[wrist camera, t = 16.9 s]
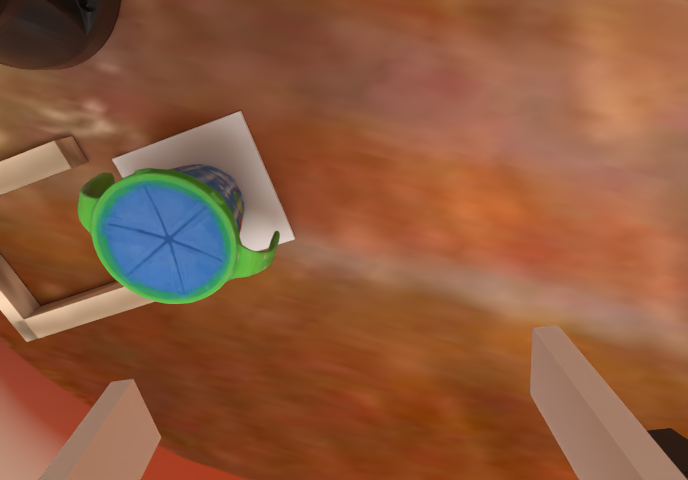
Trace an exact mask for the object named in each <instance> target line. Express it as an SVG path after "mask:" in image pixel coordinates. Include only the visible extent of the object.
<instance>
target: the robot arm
mask: <svg viewBox="0 0 688 480" xmlns="http://www.w3.org/2000/svg"><path fill="white" fill-rule="evenodd" d="M119 3H120V0H0V64H3V65H6V66H10V67H15V68H20V69H30V70H55V69H63V68H68V67H72V66H74V65H77V64H79V63H81V62H83V61H85V60H87V59H88V58H90V57H91V56H92V55H94V54H95V53H96V52H97V51H98V50H99V49H100V48H101V47H102V45H103V44H104V43H105V41H106V40H107V38H108V37H109V35H110V33H111V31H112V29H113V27H114V24H115V21H116V18H117V14H118V10H119ZM530 395H531V397H532V398H533V400H534V402H535V404H536V405H537V407H538V409H539V411H540V412H541V414H542V416H543V418H544V419H545V421H546V423H547V424H548V426H549V428H550V430H551V431H552V433H553V435H554V437H555V438H556V440H557V442H558V444H559V445H560V447H561V449H562V451H563V452H564V454H565V456H566V458H567V459H568V461H569V463H570V465H571V466H572V468H573V470H574V472H575V473H576V475H577V477H578V479H579V480H688V440H687V439H686V438H684V437H683V436H681V435H680V434H679V433H677V432H676V431H674V430H673V429H671V428H668V429H658V430H649V431H646V430H645V429H644V427H643V426H642V425H641V424H640V423H639V421H638V420H637V419H636V418H635V417H634V415H633V414H632V413H631V412H630V411H629V410H628V408H627V407H626V406H625V405H624V404H623V402H622V401H621V400H620V399H619V398H618V396H617V395H616V394H615V393H614V392H613V390H612V389H611V388H610V387H609V386H608V384H607V383H606V382H605V381H604V380H603V378H602V377H601V376H600V375H599V374H598V373H597V371H596V370H595V369H594V368H593V367H592V365H591V364H590V363H589V362H588V361H587V359H586V358H585V357H584V356H583V355H582V353H581V352H580V351H579V350H578V349H577V347H576V346H575V345H574V344H573V343H572V341H571V340H570V339H569V338H568V337H567V335H566V334H565V333H564V332H563V331H562V330H561V328H560V327H559V326H558V325H552V326H544V327H536V328H533V330H532V356H531V383H530ZM160 439H161V436H160V434H159V432H158V430H157V428H156V426H155V424H154V421H153V419H152V417H151V415H150V413H149V411H148V409H147V407H146V405H145V403H144V401H143V399H142V396H141V394H140V392H139V390H138V388H137V386H136V384H135V382H134V380H133V379H130V380H122V381H115V382H111V383H110V385H109V386H108V387H107V389H106V390H105V391H104V393H103V394H102V395H101V397H100V398H99V399H98V401H97V402H96V403H95V405H94V406H93V407H92V409H91V410H90V412H89V413H88V414H87V416H86V417H85V418H84V420H83V421H82V422H81V423H80V425H79V426H78V427H77V429H76V430H75V432H74V433H73V434H72V436H71V437H70V438H69V440H68V441H67V442H66V444H65V445H64V447H63V448H62V449H61V450H60V452H59V453H58V454H57V456H56V457H55V459H54V460H53V461H52V462H51V464H50V465H49V466H48V468H47V469H46V470H45V472H44V473H43V475H42V476H41V477H40V479H39V480H140V479H141V477H142V475H143V473H144V471H145V469H146V467H147V465H148V463H149V461H150V459H151V457H152V455H153V453H154V451H155V449H156V447H157V445H158V443H159V441H160Z"/></svg>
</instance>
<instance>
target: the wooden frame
mask: <svg viewBox="0 0 688 480" xmlns="http://www.w3.org/2000/svg"><path fill="white" fill-rule="evenodd" d="M87 162H88V161H87V159H86V158H85V156H84V154H83V153H82V151H81V149H80V148H79V146H78V144H77V143H76V141H75V139H74V138H73V136H71V137H67V138H63V139H59V140H55V141H52V142H49V143H47V144H44V145H42V146H39V147H37V148H34V149H32V150H29V151H26V152H24V153H21V154H19V155H16V156H14V157H11V158H9V159H6V160H3V161H1V162H0V195H2V194H5V193H7V192H10V191H13V190H15V189H18V188H20V187H23V186H26V185H28V184H31V183H34V182H36V181H39V180H42V179H44V178H47V177H50V176H52V175H55V174H58V173H60V172H63V171H65V170H68V169H71V168H73V167H76V166H79V165H81V164H84V163H87ZM151 302H155V301H153V300H149V299H147V298H144V297H142V296H139V295H137V294H136V293H134V292H132V291H130V290H129V289H127V288H126V287H124V286H123V285H122V284H120V283H119V282H118V281H116V282H113V283H110V284H107V285H104V286H101V287H98V288H95V289H92V290H89V291H86V292H83V293H80V294H77V295H74V296H71V297H68V298H65V299H62V300H58V301H55V302H52V303H49V304H46V305H43V306H40V305H39V303H38V302H37V301H36V300H35V298H34V297H33V296H32V294H31V293H30V292H29V290H28V289H27V288H26V286H25V285H24V284H23V283H22V281H21V280H20V279H19V277H18V276H17V275H16V273H15V272H14V271H13V270H12V268H11V267H10V266H9V264H8V263H7V262H6V260H5V259H4V258H3V256H2V255H1V254H0V310H1V311H2V312H3V314H4V315H5V316H6V317H7V318H8V320H9V321H10V322H11V323H12V325H13V326H14V327H15V328H16V329H17V331H18V332H19V333H20V334H21V336H22V337H23V338H24V339H25V340H26V342H28V341H31V340H34V339H38V338H41V337H44V336H47V335H50V334H53V333H57V332H60V331H63V330H66V329H69V328H72V327H76V326H79V325H82V324H85V323H88V322H91V321H95V320H98V319H101V318H104V317H107V316H110V315H114V314H117V313H120V312H123V311H126V310H129V309H133V308H136V307H139V306H142V305H145V304H148V303H151Z"/></svg>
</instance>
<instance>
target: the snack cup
mask: <svg viewBox="0 0 688 480" xmlns="http://www.w3.org/2000/svg"><path fill="white" fill-rule="evenodd" d="M78 201H79V203H78V217H79V220H80V222H81V223H82V225H83V226H84V227H85V228H86V229H87V230H88V231H89V232H90V233H91V234H92V239H93V244H94V247H95V250H96V252H97V255H98V257H99V259H100V260H101V262H102V264H103V265H104V266H105V268H106V269H107V271H108V272H109V273H110V274H111V275H112V276H113V277H114V278H115V279H116V280H117V281H118V282H119V283H120V284H122V285H123V286H124V287H126V288H127V289H129V290H130V291H132V292H134V293H136V294H137V295H139V296H142V297H144V298H147V299H149V300H153V301H157V302H162V303H169V304H183V303H192V302H195V301H198V300H201V299H204V298H206V297H208V296H210V295H211V294H213V293H214V292H216V291H217V290H218V289H220V288H221V287H222V285H223V284H224V283H225V282H226V281H228V280H229V279H234V278H239V277H246V276H247V277H249V276H250V275H253V274H256V273H259V272H261V271H263V270H264V269H266V268H267V267H268V266H269V265H270V264H271V263H272V261H273V258H274V254H275V252H276V249H277V246H278V243H279V238H280V233H279V231H275V232H274V234H273V236H272V239H271V242H270V245H269V248H268V251H253V250H251V249H248V248H247V247H245V246H243V245H242V243H241V240H240V231H241V227H242V222H243V218H244V212H245V207H244V201H243V196H242V194H241V191H240V189H239V188H238V186H237V185H236V182H235V180H234V179H233V178H232V177H231V176H230V175H228V174H226V173H224V172H223V171H221V170H219V169H217V168H214V167H211V166H207V165H203V164H193V165H186V166H181V167H176V168H172V169H154V168H146V169H140V170H135V172H134V173H133V174H131V175H129V176H126V177H124V178H123V179H121V180H119V181H118V182H116V183H114V177H113V175H112V174H111V173H102V174H99V175H97V176H96V177H94V178H93V179H91V180H90V181H89V182H87V183H86V184H85V185H84V186H83V187H82V189H81V191H80V195H79V200H78Z"/></svg>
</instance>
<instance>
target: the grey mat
mask: <svg viewBox="0 0 688 480" xmlns="http://www.w3.org/2000/svg"><path fill="white" fill-rule="evenodd" d="M112 160H113V162H114V164H115V165H116V167H117V169H118V170H119V172H120V174H121V176H122V177H123V178H124V177H126V176H129V175H131V174H133V173H134V172H135V170H140V169H146V168H154V169H172V168H176V167H181V166H186V165H193V164H203V165H207V166H211V167H214V168H217V169H219V170H221V171H223V172H224V173H226V174H228V175H230V176H231V177H232V178H233V179H234V180H235V182H236V185H237V186H238V188H239V189H240V191H241V194H242V196H243V201H244V207H245V212H244V218H243V222H242V227H241V231H240V240H241V243H242V245H243V246H245V247H247V248H248V249H251V250H253V251H260V250H263V249H266V248H269V245H270V242H271V239H272V236H273V234H274V232H275V231H279V233H280V238H279V243H278V244H281V243H284V242H288V241H291V240H294V239H295V235H294V233H293V231H292V228H291V226H290V224H289V221H288V219H287V217H286V214H285V212H284V210H283V207H282V205H281V203H280V200H279V198H278V196H277V193H276V191H275V189H274V186H273V184H272V182H271V179H270V177H269V175H268V172H267V170H266V168H265V165H264V163H263V161H262V158H261V156H260V154H259V151H258V149H257V147H256V144H255V142H254V140H253V137H252V135H251V133H250V130H249V128H248V126H247V123H246V121H245V119H244V116H243V114H242V112H241V111H239V112H236V113H234V114H231V115H228V116H226V117H223V118H220V119H218V120H215V121H212V122H210V123H207V124H204V125H202V126H199V127H196V128H194V129H191V130H188V131H186V132H183V133H180V134H178V135H175V136H172V137H170V138H167V139H164V140H162V141H159V142H156V143H154V144H151V145H148V146H146V147H143V148H140V149H138V150H135V151H132V152H130V153H127V154H124V155H122V156H119V157H116V158H114V159H112Z"/></svg>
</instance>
